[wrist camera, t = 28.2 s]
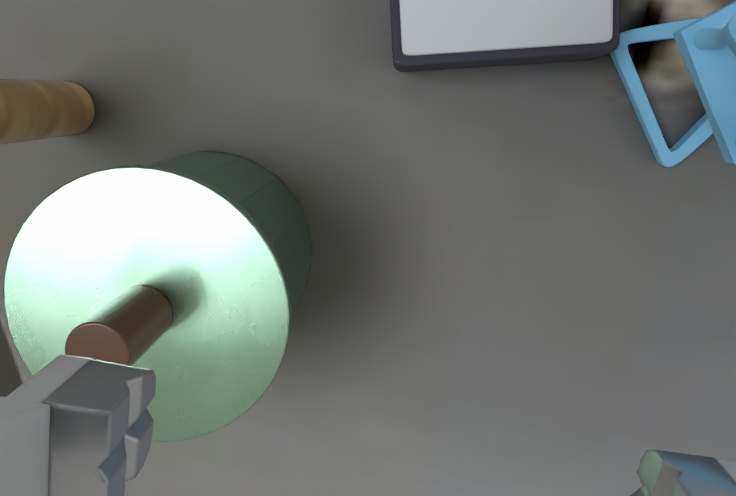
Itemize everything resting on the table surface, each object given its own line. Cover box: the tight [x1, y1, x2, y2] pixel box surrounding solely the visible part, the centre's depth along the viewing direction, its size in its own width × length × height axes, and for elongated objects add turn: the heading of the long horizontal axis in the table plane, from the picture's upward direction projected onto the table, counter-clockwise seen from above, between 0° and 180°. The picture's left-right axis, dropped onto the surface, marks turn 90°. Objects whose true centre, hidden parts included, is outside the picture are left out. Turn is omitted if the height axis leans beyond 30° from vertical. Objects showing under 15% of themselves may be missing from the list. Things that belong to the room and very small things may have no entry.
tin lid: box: [3, 165, 291, 442], centre depth 26 cm, size 12×12×6 cm
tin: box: [148, 151, 312, 316], centre depth 33 cm, size 11×11×10 cm
